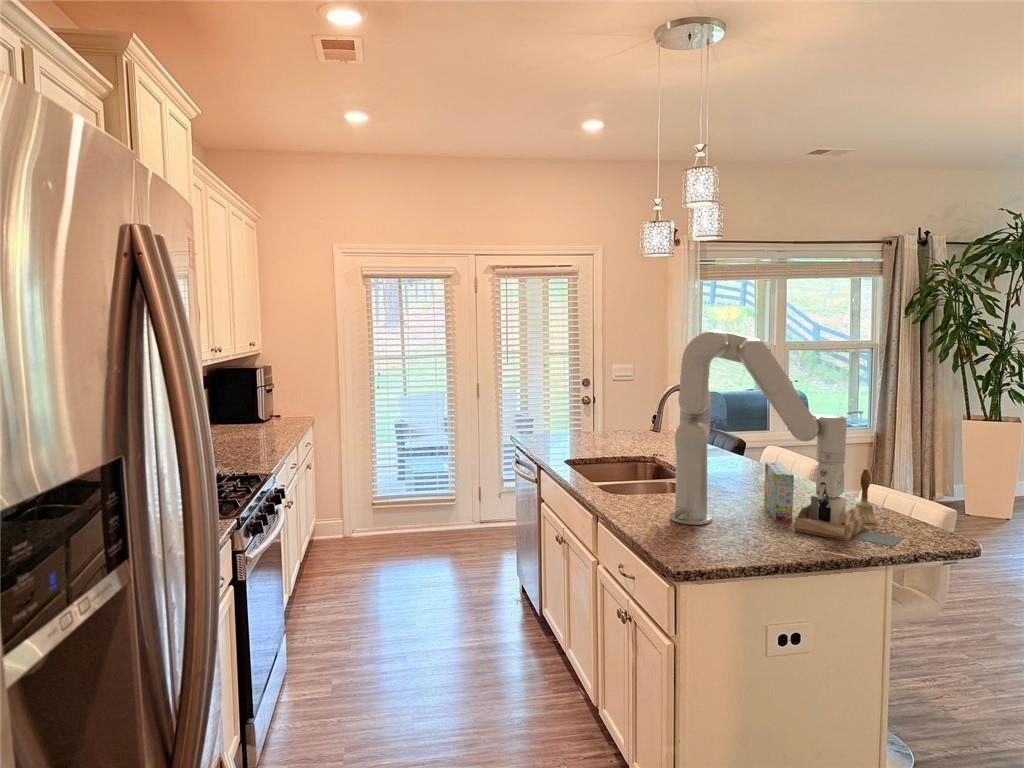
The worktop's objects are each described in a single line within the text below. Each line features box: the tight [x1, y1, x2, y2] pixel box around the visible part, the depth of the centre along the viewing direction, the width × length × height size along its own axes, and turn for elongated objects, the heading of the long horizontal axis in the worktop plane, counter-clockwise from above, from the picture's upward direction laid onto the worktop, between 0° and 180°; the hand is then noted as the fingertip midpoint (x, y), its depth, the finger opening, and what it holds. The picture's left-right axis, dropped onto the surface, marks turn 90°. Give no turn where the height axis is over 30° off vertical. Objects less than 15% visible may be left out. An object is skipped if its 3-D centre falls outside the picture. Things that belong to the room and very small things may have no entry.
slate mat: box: [853, 530, 904, 547], centre depth 185 cm, size 10×10×1 cm
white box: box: [810, 493, 847, 525], centre depth 194 cm, size 5×8×7 cm, turn 46°
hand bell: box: [855, 469, 880, 524], centre depth 204 cm, size 8×8×16 cm
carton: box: [793, 503, 866, 541], centre depth 194 cm, size 20×14×7 cm
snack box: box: [763, 461, 795, 522], centre depth 213 cm, size 21×6×15 cm, turn 168°
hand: (827, 518), depth 194 cm, fingers closed on white box, 5 cm apart
